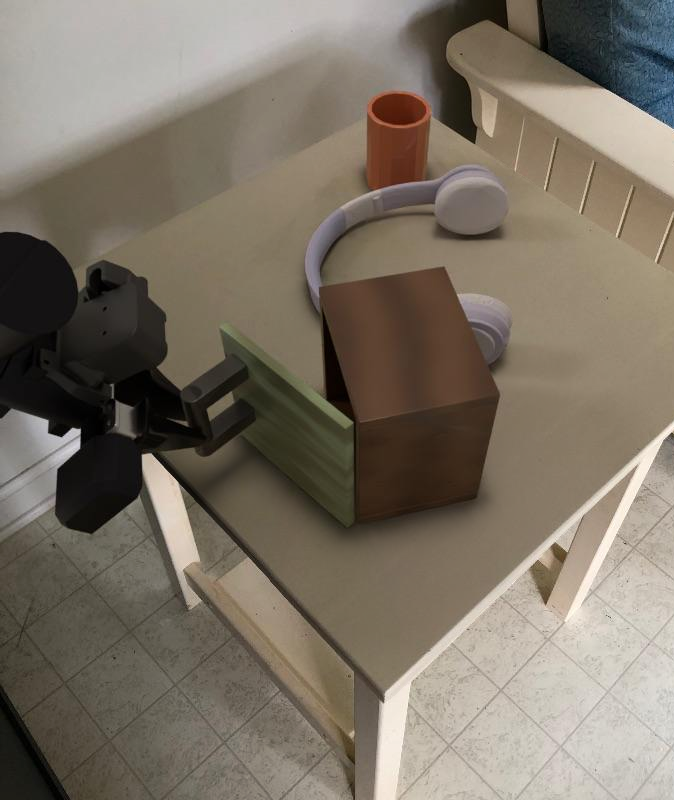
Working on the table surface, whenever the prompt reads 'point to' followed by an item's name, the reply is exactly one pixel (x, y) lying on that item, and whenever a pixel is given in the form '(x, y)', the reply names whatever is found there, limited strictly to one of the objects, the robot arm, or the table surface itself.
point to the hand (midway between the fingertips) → (202, 429)
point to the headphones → (454, 210)
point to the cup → (397, 139)
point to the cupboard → (407, 390)
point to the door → (276, 421)
